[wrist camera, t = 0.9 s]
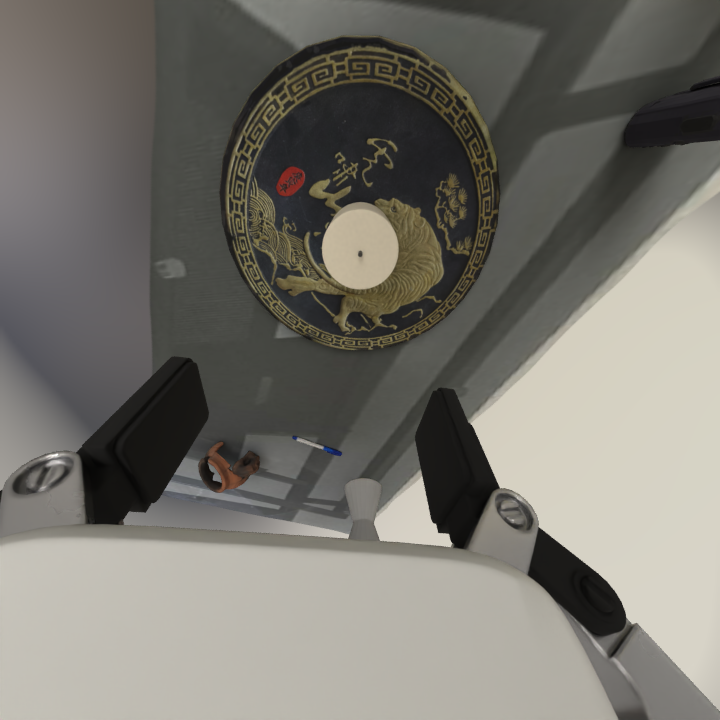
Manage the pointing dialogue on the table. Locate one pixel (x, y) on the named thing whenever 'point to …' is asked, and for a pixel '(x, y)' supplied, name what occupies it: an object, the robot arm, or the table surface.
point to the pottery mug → (227, 469)
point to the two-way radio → (678, 118)
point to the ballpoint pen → (319, 446)
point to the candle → (360, 246)
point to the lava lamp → (363, 507)
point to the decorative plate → (359, 188)
